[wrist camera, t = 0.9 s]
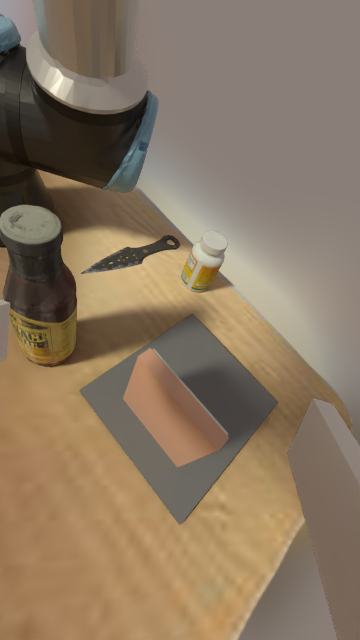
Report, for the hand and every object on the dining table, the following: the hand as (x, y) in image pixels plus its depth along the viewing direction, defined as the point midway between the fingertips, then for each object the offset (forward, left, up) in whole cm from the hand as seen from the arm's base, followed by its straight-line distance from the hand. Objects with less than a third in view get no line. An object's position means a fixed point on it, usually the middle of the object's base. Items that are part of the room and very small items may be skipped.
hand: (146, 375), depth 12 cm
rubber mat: (-5, +11, -24) cm, 26 cm away
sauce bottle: (-14, -6, -24) cm, 28 cm away
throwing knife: (-31, +8, -24) cm, 40 cm away
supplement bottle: (-25, +17, -24) cm, 39 cm away
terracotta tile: (-2, +5, -23) cm, 24 cm away
